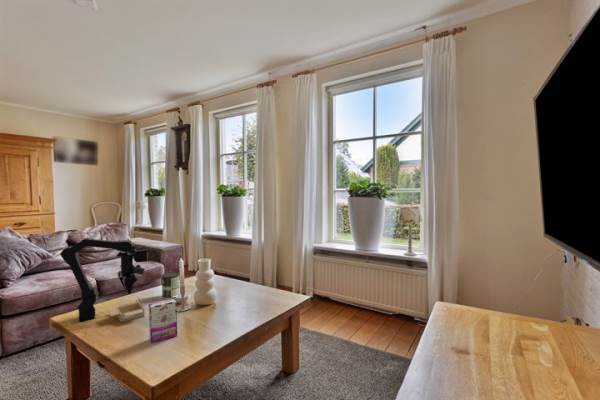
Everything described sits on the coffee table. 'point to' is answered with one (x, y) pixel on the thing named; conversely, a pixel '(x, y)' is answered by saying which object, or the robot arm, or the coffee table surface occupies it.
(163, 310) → the candy bar box
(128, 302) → the flap left
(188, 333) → the coffee table surface
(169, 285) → the coffee can
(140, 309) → the carton
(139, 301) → the flap far
